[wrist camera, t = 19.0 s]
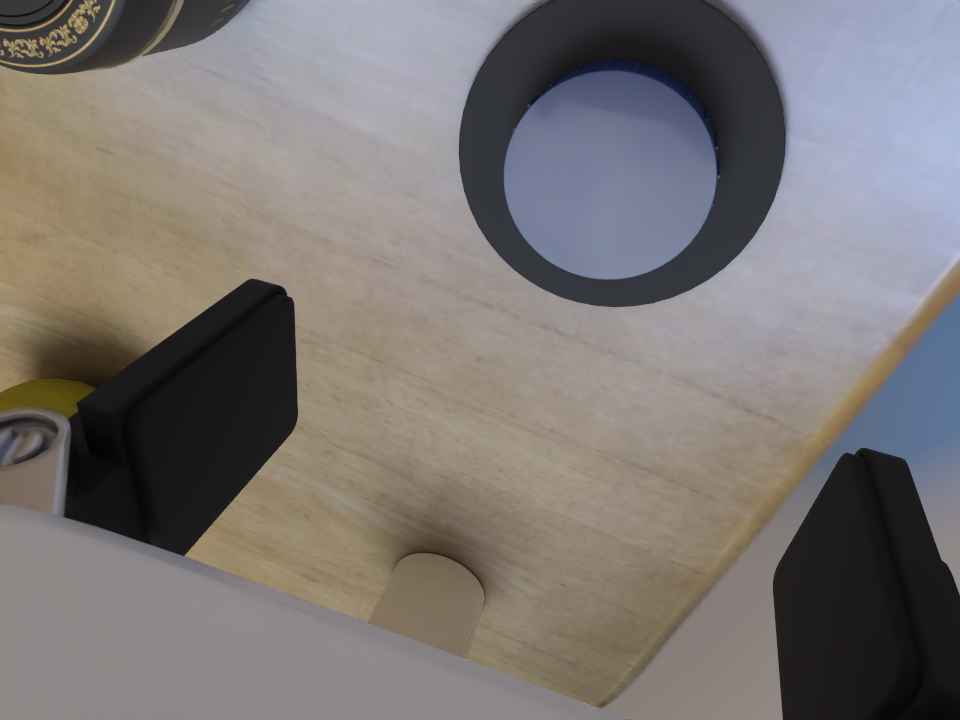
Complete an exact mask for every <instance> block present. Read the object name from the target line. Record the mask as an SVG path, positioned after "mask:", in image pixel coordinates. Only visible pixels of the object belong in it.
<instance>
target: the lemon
mask: <svg viewBox="0 0 960 720" xmlns="http://www.w3.org/2000/svg"><path fill="white" fill-rule="evenodd" d="M95 389H97V388H94V387H92V386H89V385H87V384H84V383H82V382H79V381H73V380H65V379H36V380H30V381H28V382H25V383H22V384H19V385H17V386H14V387H11V388H9V389H6V390H4V391H3V392H1V393H0V411H4V410H9V409H14V408H21V407H40V408H47V409H52V410H54V411H56V412H59V413H61V414H62V415H63V416H64V417H65V418H66V419H68V418H70V417H71V416H72V415H74V414H75V413H76V412H78V408H77V404H76V403H77V402H79V401H80V400H81V399H83V398H84V397H86V396H87V395H88V394H90V393H91V392H92V391H94V390H95Z"/></svg>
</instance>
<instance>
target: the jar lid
mask: <svg viewBox="0 0 960 720" xmlns="http://www.w3.org/2000/svg"><path fill="white" fill-rule="evenodd" d="M548 87H549V88H548V89H547V90H546V91H545V92H544V93H543V94H542V95H541V96H539V95H538V96H537V97H536V98H535V99H534V100H533V101H532V102H531V103H529V105H528V106H527V107H528V109H527V111H526V112H525V113H524V115H523V116H522V118H521V119H520V120H519V122H518V124H517V125H516V126H515V127H514V128H513V133H512V136H511V139H510V141H509V144H508V147H507V151H506V154H505V160H504V169H503V185H504V192H505V198H506V202H507V205H508V209H509V212H510V214H511V217H512V219H513V221H514V223H515V225H516V227H517V228H518V230H519V232H520V234H521V235H522V236H523V237H524V239H525V240H526V241H527V243H528V244H529V245H530V246H531V247H532V248H533V249H534V250H535V251H536V252H537V253H538V254H539V255H541V256H542V257H543V258H544V259H546V260H547V261H548V262H550V263H552V264H553V265H555V266H557V267H558V268H561V269H563V270H565V271H567V272H569V273H572V274H575V275H578V276H582V277H587V278H592V279H601V280H617V279H625V278H631V277H635V276H639V275H642V274H646V273H648V272H650V271H653V270H655V269H658V268H659V267H661V266H663V265H665V264H666V263H668V262H670V261H671V260H672V259H674V258H675V257H676V256H678V255H679V254H680V253H681V252H682V251H683V250H684V249H685V248H687V247H688V246H689V245H690V243H691V242H692V241H693V240H694V239H695V237H696V236H697V235H698V234H699V232H700V231H701V229H702V227H703V225H704V224H705V222H706V220H707V218H708V215H709V213H710V211H711V209H712V206H714V198H715V194H716V188H717V179H720V164H719V162H717V150H718V136H717V135H715V134H714V131H713V127H712V124H711V121H710V119H709V110H708V109H707V108H706V109H704V107H703V105H702V104H701V102H700V101H699V99H698V98H697V97H696V95H695V94H694V93H693V92H692V87H691V86H689V87H687V86H686V85H685V84H684V83H683V82H682V81H680V80H679V79H678V78H676V77H675V76H673V75H672V74H670V73H669V69H667V68H666V70H663V69H661V68H658V67H656V66H654V65H651V64H647V63H644V62H642V59H639V60H638V61H633V60H613V57H610V58H609V59H608V60H606V61H599V62H595V63H591V64H588V65H585V63H583V64H581V65H580V66H579V68H578V69H575V70H573V71H571V72H569V73H568V74H566V75H564V76H563V77H561V78H560V76H558V77H557V78H556V79H555V80H554V81H553V82H552V83H551V84H550V85H549V86H548Z"/></svg>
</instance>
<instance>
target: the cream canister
mask: <svg viewBox="0 0 960 720" xmlns="http://www.w3.org/2000/svg"><path fill="white" fill-rule="evenodd" d="M484 603H485V596H484V591H483V588H482V586H481V584H480V582H479V581H478V579H477V578H476V577H475V576H474V575H473V574H472V573H471V572H470V571H469V570H468V569H467V568H465V567H464V566H462V565H461V564H459V563H457V562H456V561H454V560H452V559H449V558H447V557H444V556H441V555H437V554H431V553H416V554H411V555H408V556H406V557H404V558H402V559H401V560H400V561H399V562H398V563H397V564H396V566H395V568H394V570H393V572H392V574H391V576H390V578H389V580H388V582H387V584H386V586H385V588H384V590H383V592H382V594H381V596H380V598H379V600H378V602H377V605H376V607H375V609H374V611H373V613H372V615H371V617H370V619H369V621H368V623H370V624H372V625H375V626H378V627H381V628H383V629H386V630H389V631H392V632H394V633H397V634H400V635H403V636H405V637H408V638H411V639H413V640H416V641H419V642H422V643H424V644H427V645H430V646H433V647H435V648H438V649H441V650H443V651H446V652H449V653H452V654H454V655H457V656H460V657H463V658H465V659H466V658H467V655H468V652H469V649H470V646H471V643H472V639H473V636H474V633H475V630H476V627H477V624H478V621H479V618H480V615H481V612H482V609H483V606H484Z"/></svg>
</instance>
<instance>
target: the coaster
mask: <svg viewBox="0 0 960 720" xmlns="http://www.w3.org/2000/svg"><path fill="white" fill-rule="evenodd" d="M610 57H613V60H633V61H638V60H639V59H642V62H644V63H647V64H651V65H654V66H656V67H658V68H661V69H663V70H666V68H667V69H669V73H670V74H672V75H673V76H675V77H676V78H678V79H679V80H680V81H682V82H683V83H684V84H685V85H686V86H687V87H689V86H691V87H692V92H693V93H694V94H695V95H696V97H697V98H698V99H699V101H700V102H701V104H702V105H703V107H704V109H706V108H707V109H708V110H709V119H710V121H711V124H712V127H713V131H714V134H715V135H717V136H718V150H717V162H719V164H720V179H717V188H716V194H715V198H714V206H712V209H711V211H710V213H709V215H708V218H707V220H706V222H705V224H704V225H703V227H702V229H701V231H700V232H699V234H698V235H697V236H696V237H695V239H694V240H693V241H692V242H691V243H690V245H689V246H688V247H687V248H685V249H684V250H683V251H682V252H681V253H680V254H679V255H678V256H676V257H675V258H674V259H672V260H671V261H670V262H668V263H666V264H665V265H663V266H661V267H659V268H658V269H655V270H653V271H650V272H648V273H646V274H642V275H639V276H635V277H631V278H625V279H617V280H601V279H592V278H587V277H582V276H578V275H575V274H572V273H569V272H567V271H565V270H563V269H561V268H558V267H557V266H555V265H553V264H552V263H550V262H548V261H547V260H546V259H544V258H543V257H542V256H541V255H539V254H538V253H537V252H536V251H535V250H534V249H533V248H532V247H531V246H530V245H529V244H528V243H527V241H526V240H525V239H524V237H523V236H522V235H521V234H520V232H519V230H518V228H517V227H516V225H515V223H514V221H513V219H512V217H511V214H510V212H509V209H508V205H507V202H506V198H505V192H504V185H503V169H504V160H505V154H506V151H507V147H508V144H509V141H510V139H511V136H512V133H513V128H514V127H515V126H516V125H517V124H518V122H519V120H520V119H521V118H522V116H523V115H524V113H525V112H526V111H527V109H528V107H527V106H528V105H529V103H531V102H532V101H533V100H534V99H535V98H536V97H537V96H538V95H539V96H541V95H542V94H543V93H544V92H545V91H546V90H547V89H548V88H549V87H548V86H549V85H550V84H551V83H552V82H553V81H554V80H555V79H556V78H557V77H558V76H560V78H561V77H563V76H564V75H566V74H568V73H569V72H571V71H573V70H575V69H578V68H579V66H580V65H581V64H583V63H585V65H588V64H591V63H595V62H599V61H606V60H608V59H609V58H610ZM784 157H785V125H784V116H783V109H782V105H781V101H780V98H779V94H778V90H777V87H776V84H775V82H774V80H773V77H772V75H771V73H770V70H769V68H768V66H767V64H766V62H765V60H764V59H763V57H762V56H761V54H760V52H759V51H758V49H757V48H756V46H755V44H754V43H753V42H752V41H751V40H750V38H749V37H748V36H747V35H746V34H745V33H744V32H743V30H742V29H741V28H740V27H739V26H738V25H737V24H736V23H735V22H733V21H732V20H731V19H730V18H729V17H727V16H726V15H725V14H724V13H723V12H722V11H720V10H719V9H717V8H715V7H714V6H712V5H710V4H709V3H707V2H706V1H704V0H552V1H550V2H548V3H546V4H544V5H543V6H541V7H539V8H537V9H536V10H535V11H533V12H532V13H530V14H529V15H528V16H526V17H525V18H524V19H522V20H521V21H520V22H518V23H517V24H516V25H515V26H514V27H513V28H512V29H511V30H510V31H509V32H508V33H507V34H506V35H505V36H504V37H503V38H502V39H501V40H500V42H499V43H498V44H497V45H496V47H495V48H494V49H493V50H492V52H491V53H490V54H489V56H488V57H487V59H486V61H485V62H484V64H483V65H482V67H481V69H480V70H479V72H478V74H477V76H476V78H475V81H474V83H473V85H472V87H471V90H470V92H469V95H468V98H467V101H466V105H465V108H464V111H463V116H462V122H461V128H460V139H459V160H460V172H461V177H462V182H463V187H464V192H465V195H466V198H467V201H468V204H469V206H470V209H471V212H472V214H473V216H474V218H475V220H476V222H477V224H478V226H479V228H480V229H481V231H482V233H483V234H484V236H485V237H486V239H487V240H488V242H489V243H490V245H491V246H492V247H493V248H494V249H495V251H496V252H497V253H498V254H499V256H500V257H501V258H502V259H503V260H504V261H505V262H507V263H508V264H509V265H510V266H511V267H512V268H513V269H514V270H515V271H517V272H518V273H519V274H520V275H522V276H523V277H524V278H526V279H527V280H529V281H530V282H532V283H534V284H535V285H537V286H539V287H540V288H542V289H544V290H546V291H548V292H551V293H553V294H555V295H557V296H560V297H563V298H566V299H569V300H572V301H575V302H579V303H585V304H590V305H595V306H608V307H625V306H637V305H644V304H650V303H655V302H658V301H662V300H665V299H669V298H672V297H674V296H677V295H679V294H682V293H684V292H686V291H689V290H691V289H693V288H694V287H696V286H698V285H700V284H702V283H703V282H705V281H707V280H708V279H710V278H711V277H713V276H714V275H715V274H717V273H718V272H719V271H721V270H722V269H724V268H725V267H726V266H727V265H728V264H729V263H730V262H731V261H732V260H733V259H734V258H735V257H736V256H738V255H739V254H740V252H741V251H742V250H743V249H744V248H745V246H746V245H747V244H748V243H749V242H750V240H751V239H752V238H753V237H754V235H755V234H756V232H757V230H758V229H759V227H760V226H761V224H762V223H763V221H764V220H765V217H766V215H767V213H768V211H769V209H770V207H771V205H772V203H773V201H774V198H775V195H776V192H777V188H778V185H779V182H780V179H781V174H782V168H783V162H784Z"/></svg>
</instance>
